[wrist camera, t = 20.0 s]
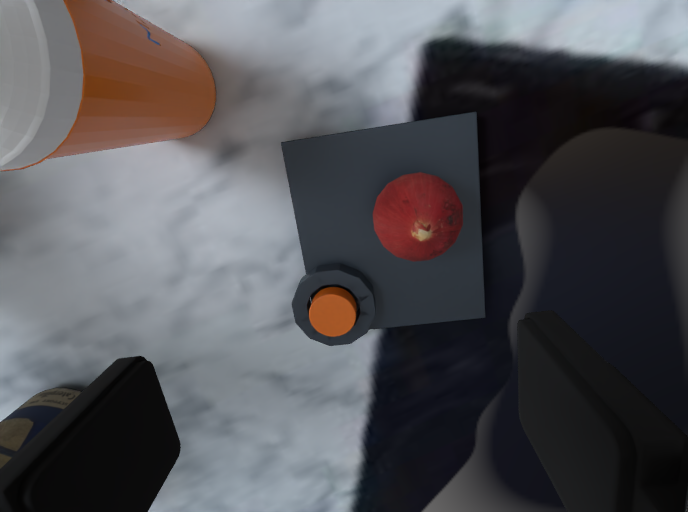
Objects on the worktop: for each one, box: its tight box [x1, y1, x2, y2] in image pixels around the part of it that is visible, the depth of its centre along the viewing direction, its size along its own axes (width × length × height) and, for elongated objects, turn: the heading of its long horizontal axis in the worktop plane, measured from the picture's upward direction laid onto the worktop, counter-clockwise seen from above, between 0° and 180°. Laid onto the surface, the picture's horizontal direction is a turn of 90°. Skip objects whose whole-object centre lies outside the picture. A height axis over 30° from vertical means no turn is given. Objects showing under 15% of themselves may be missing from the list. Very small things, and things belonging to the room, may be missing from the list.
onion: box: [373, 172, 463, 262], centre depth 25 cm, size 6×6×8 cm
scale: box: [281, 112, 485, 346], centre depth 30 cm, size 15×16×4 cm
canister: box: [0, 388, 82, 468], centre depth 32 cm, size 10×10×18 cm
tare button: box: [309, 287, 357, 337], centre depth 30 cm, size 4×4×2 cm
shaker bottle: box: [0, 0, 216, 171], centre depth 20 cm, size 9×9×20 cm
